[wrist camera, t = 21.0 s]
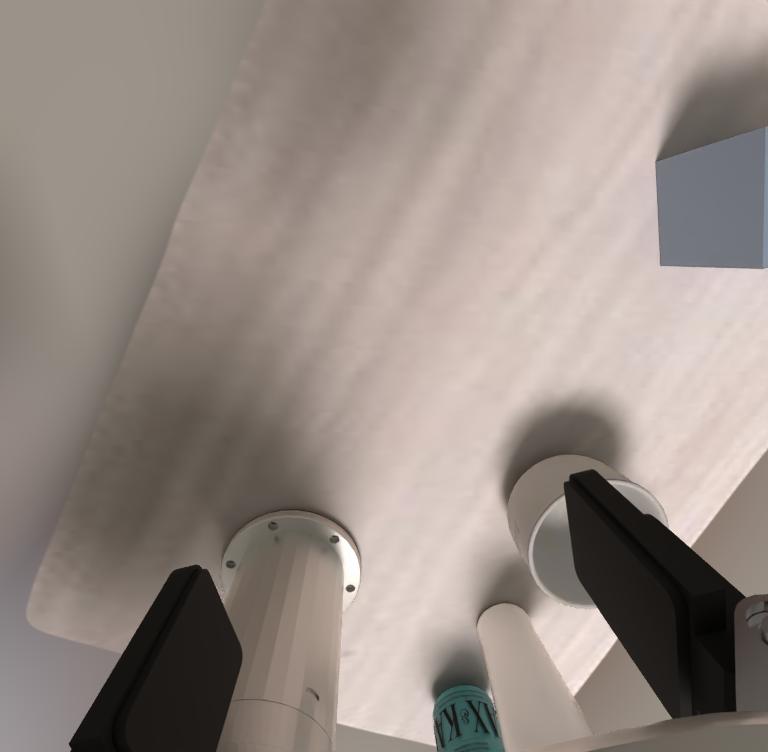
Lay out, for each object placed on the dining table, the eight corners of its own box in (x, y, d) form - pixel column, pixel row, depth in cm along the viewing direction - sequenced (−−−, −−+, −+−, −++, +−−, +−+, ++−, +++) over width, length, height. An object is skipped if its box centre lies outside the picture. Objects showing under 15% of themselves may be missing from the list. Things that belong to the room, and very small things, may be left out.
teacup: (471, 500, 38) (499, 561, 31) (557, 414, 36) (609, 456, 29) (572, 578, 41) (620, 651, 34) (656, 502, 39) (728, 561, 32)
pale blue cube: (755, 242, 33) (891, 237, 25) (660, 265, 33) (762, 268, 25) (757, 136, 31) (906, 91, 23) (655, 161, 31) (765, 126, 23)
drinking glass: (470, 595, 41) (530, 777, 27) (538, 592, 42) (632, 771, 27) (466, 649, 43) (519, 846, 29) (530, 646, 43) (615, 840, 29)
